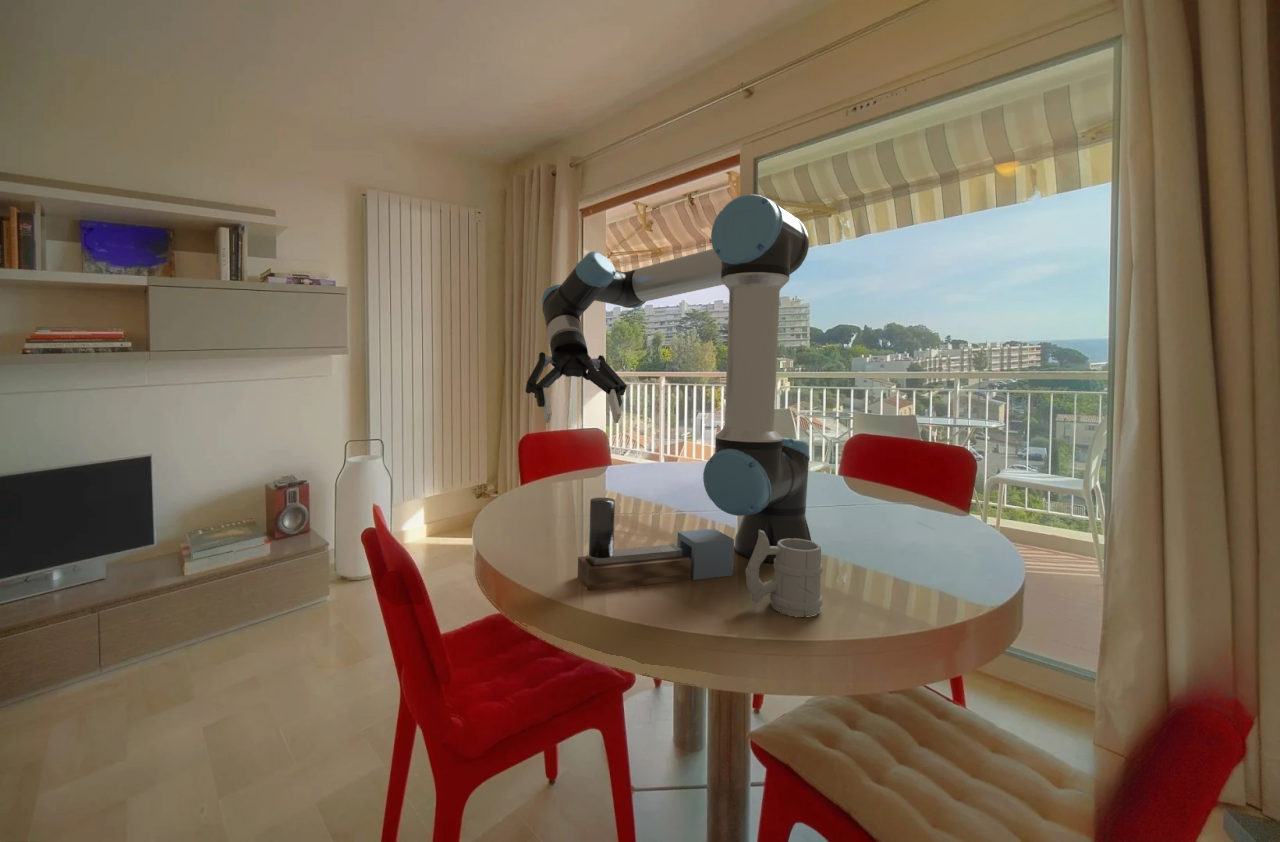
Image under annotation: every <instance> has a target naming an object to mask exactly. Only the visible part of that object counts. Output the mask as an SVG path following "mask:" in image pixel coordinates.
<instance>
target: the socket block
mask: <svg viewBox="0 0 1280 842" xmlns="http://www.w3.org/2000/svg"><path fill="white" fill-rule="evenodd" d="M676 546H677V547H679V548H680V549H682V550H683V552H682V558H684V557H689V558H690V559H691V579H692V580H695V581H697V580H703V579H704V580H705V579H712V578H713V579H714V578H720V577H731V576H733V570H734V568H733V567H734V552H735V551H734V550H735V538H732V537H731V536H728V535H727V534H725V533H724V532H721V531H720V530H718V529H716V528H708V529H696V530H695V529H694V530H693V529H692V530H682V531H677V543H676Z"/></svg>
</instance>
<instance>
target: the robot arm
mask: <svg viewBox="0 0 1280 842" xmlns="http://www.w3.org/2000/svg"><path fill="white" fill-rule="evenodd" d="M710 241H711V245H712V246H711V247H712V248H711V249H707V250H702V251H700V252H699V251H698V252H696V253H692V254H688V255H685V256H680V257H677V258H673V259H670V260H665V261H661V262H657V263H654V264H650V265H647V266H643V267H639V268H636V269H632V270H628V271H620V270H617V269H616V268H615V265H614V264H613V263H612V261H610V259H609V258H608V257H606V256H605V255H602V253H600V252H598V251H590V252H589V251H588V253H587V254H586V255H585V256H584V257H583V258H582V259H581V260H579V262H578V263H576V266H575V267H574V268H573V270H571V272H570V274H569V275H568V276H567V277H566V279H565V280H564V281H563V282H562V283H561V284H554V285H552V286H550V287H548V288H547V289H545V291H544V292H543V295H542V297H541V301H542V305H541V306H542V312H543V316H544V322H545V326H546V331H547V336H548V340H549V341H548V342H549V347H550V353H551V356H549V355H546V353H545V352H543V351H540V352H539V354H538V358H537V363H536V364H535V367H534V369H533V370H532V372H531V374H530V375H529V377H528V379H527V381H526V386H525V393H526V394H534V398H535V399H536V405H537V407H539V408H542V409H543V415H544V416H543V417H544V421H545V423H546V424H549V423H550V422H551V418H552V414H553V413H552V407H551V400H550V394H549V388H550V387H551V386H552V385H553V384H554V383H555V382H556V381H557V380H559V379H560V378H562V376H565V377H568V378H569V377H576V378H581V377H582V378H584V379H585V380H586V381H589V382H592V383H593V384H594V385H596V387H598V388H599V389H601V391H603V392H605V393H606V394H607V395H608V397H607V399H608V403H609V407H610V412H611V416H612V419H613V423H614V424H619V422H620V419H621V416H622V411H621V406H622V403H623V400H622V396H624V395H625V392H626V390H627V388H628V384H627V383H625V381H624V380H623V379H622V378H621V377H620V376H619V374H617V373H616V372H615V371H614V370H613V368H612V367H611V366H610V365H609V364H608V363H607V361H606V359H605V356H604V355H601V354H600V355H598V357H597V358H592V357H591V356H590V355H589V350H588V347H587V342H586V339H585V333H584V329H583V327H582V321H581V319H580V318H581V316H582V315H583V314H584V313H585V312H586V311H587V309H588V308H589V307H590V306H591V305H592V304H593V303H594V302H601V303H606V304H611V305H615V306H618V307H619V306H620V307H623V308H627V309H628V308H629V309H633V308H634V309H635V308H640V307H642V306H643V305H644V304H645V303H646V302H649V301H653V300H658V299H663V298H668V297H673V296H676V295H677V296H678V295H682V294H687V293H692V292H696V291H700V290H705V289H709V288H710V289H711V288H714V287H719V286H723V285H724V286H725V287H726V288H727V289H728V291H729V292H728V294H729V299H728V300H729V301H728V318H727V319H728V321H727V323H728V324H727V350H726V376H725V377H726V379H725V408H724V426H723V428H722V429H721V430H720V431H719V432H718V433H717V434H715V441H714V442H715V449H714V453H713V455H712V456H710V458H709V459H708V460H707V462H706V464H705V465H704V468H703V475H702V478H703V479H702V480H703V486H704V490H705V492H706V495H707V496H708V497H709V500H710V501H712V502H713V504H714V505H715V506H716V507H717V508H718V509H719V510H721V512H724V513H726V514H729V515H732V516H738V517H739V516H740V517H742V516H743V517H742V519H741V521H740V524H739V526H738V527H739V528H738V529H737V532H736V535H735V536H734V550H735V551H736V552H737V553H738V554H740V555H742V556H743V557H746V558H749V559H750V558H751V556H752V554H753V551H754V548H755V545H756V544H757V540H758V531H759V530H762V531H764V532H765V534H766V536H767V538H768V540H769V544H770V546H777V542H778V541H779V540H782V539H789V538H791V539H794V538H796V539H803V540H809V541H812V537H811V532H810V528H809V525H808V522H807V517H806V511H807V498H808V495H807V494H808V479H809V477H808V476H809V465H810V464H809V463H810V460H811V457H810V448H809V444H808V442H807V441H805V440H802V439H796V438H788V437H782V436H781V435H780V433H779V432H777V430H776V429H775V410H776V409H775V407H776V406H775V405H776V387H777V386H776V384H777V383H776V382H777V363H778V361H777V359H778V342H779V341H778V339H779V338H778V335H779V315H780V312H779V311H780V294H781V292H780V291H781V289H782V288H784V286H785V285H786V284H787V283H788V282H789V280H790V277H791V276H790V275H792V274H793V273H794V272H796V271H797V270H798V269H799V268H800V267H801V266H802V265H803V263H804V261H805V260H806V258H807V255H808V251H809V247H810V240H809V234H808V231H807V229H806V227H805V225H804V224H803V222H802V221H801V220H800V219H799V218H798V217H796V216H795V215H793V214H792V213H790V212H788V211H787V210H785V209H783V208H782V207H780V206H779V204H778V203H777V202H775V200H773V199H771V198H768V197H765V196H763V195H760V194H755V193H753V194H752V193H750V194H743V195H740V196H737V197H736V198H734V199H732V200H730V201H729V202H728V203H727V204H726V205H725V206H724V207H723V208H722V210H720V211H719V212H718V214H717V216H716V218H715V219H714V222H713V224H712V228H711V235H710ZM549 364H551V365H552V366H553V368H552V369H551V370H550V371H549V372H548V373H547V374H546V375H545V376H544V377H543V378H542V379H540V377H541V375H542V373H543V371H544V369H545V368H546V367H548V365H549ZM539 380H540V381H539ZM538 381H539V382H538ZM775 558H776V555H767V556H766V558H765V559H764V561H763V562H766V563H772V562H774V559H775Z"/></svg>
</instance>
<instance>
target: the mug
mask: <svg viewBox="0 0 1280 842" xmlns="http://www.w3.org/2000/svg"><path fill="white" fill-rule="evenodd" d="M767 555H776V558H775V559H774V563H773V568H774V572H773V573H774V575H773V579H770V580H768V581H765V582H762V581H761V579H760V567H761V565H762V563H763V562H765V561H764V559H765V558H766V556H767ZM823 567H824V566H823V564H822V547H821V546H820V545H819V544H818V543H816V542H815V541H813V540H811V541H809V540H803V539H796V538H794V539H791V538H789V539H782V540H779V541H778V542H777V546H770V544H769V540H768V538H767V536H766V534H765V532H764V531H762V530H759V531H758V540H757V544H756V545H755V548H754V551H753V554H752V556H751V558H749V561H748V564H747V567H746V568H745V577H746V581H745V583H746V587H747V588H746V589H747V591H748V594H749V595H750V596H751V598H752V601H753V602H754V603H758V602H760V601H761V600H762V598H763V597H764V596H767V595H768V594H769V598H770V601H771V607H772V609H773V610H774V611H776V612H777V611H778V612H777V613H779V612H780V614H781V613H782V614H781V615H786V614H787V615H790V616H789V617H791V616H797V617H804V616H812V615H815V614H817V613H818V612H819V611H821V607H822V606H823V601H824V598H823V596H822V594H821V585H822V584H821V580H822V579H821V576H822V573H823V570H824V569H823ZM819 613H820V612H819ZM787 615H786V616H787ZM804 618H805V617H804Z"/></svg>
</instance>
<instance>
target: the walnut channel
mask: <svg viewBox="0 0 1280 842" xmlns="http://www.w3.org/2000/svg"><path fill="white" fill-rule="evenodd" d="M577 578H578V579H580V580H579V581H580V582H581V584H582V583H583V584H582V585H583V587H584V588H585V587H586V588H587V589H586V588H585V589H586V591H587V592H591V591H592V592H593V591H594V592H595V591H601V590H609V589H617V588H618V589H619V588H626V587H627V588H628V587H636V586H637V587H638V586H646V585H652V584H653V585H654V584H663V583H670V582H679V581H688V580H689V581H690V580H691V579H692V578H691V559H690V558H689V557H684V558H674V559H664V560H654V561H643V562H633V563H623V564H613V565H602V566H591V565H590V564H589V555H586V556H585V555H583V556H577Z"/></svg>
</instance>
